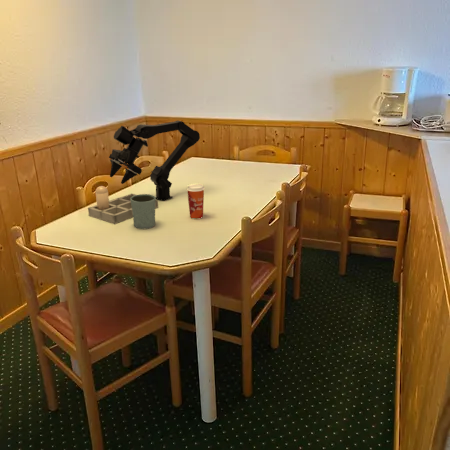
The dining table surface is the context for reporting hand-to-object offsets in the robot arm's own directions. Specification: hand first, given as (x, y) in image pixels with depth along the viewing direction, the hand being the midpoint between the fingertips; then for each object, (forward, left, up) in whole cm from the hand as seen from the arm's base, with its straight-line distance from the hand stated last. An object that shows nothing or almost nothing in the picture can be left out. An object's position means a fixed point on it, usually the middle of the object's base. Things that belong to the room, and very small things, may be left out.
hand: (116, 180), depth 199 cm
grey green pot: (-27, +9, -13) cm, 31 cm away
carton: (-7, +3, -13) cm, 15 cm away
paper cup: (-38, -12, -13) cm, 42 cm away
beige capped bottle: (-3, +10, -12) cm, 16 cm away
